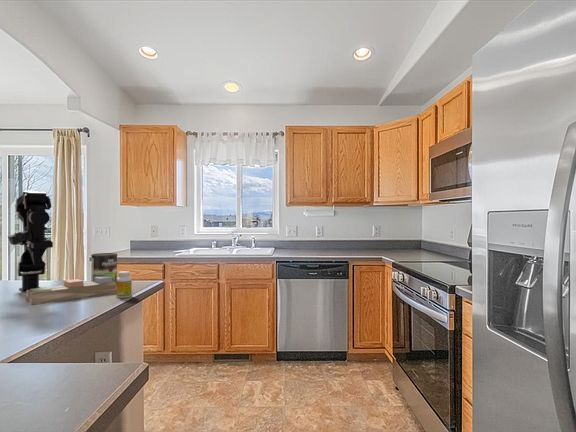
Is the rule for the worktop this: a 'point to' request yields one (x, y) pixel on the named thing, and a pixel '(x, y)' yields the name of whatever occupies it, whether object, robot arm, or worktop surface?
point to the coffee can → (104, 265)
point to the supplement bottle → (123, 285)
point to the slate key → (102, 279)
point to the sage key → (40, 289)
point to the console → (69, 292)
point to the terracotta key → (73, 283)
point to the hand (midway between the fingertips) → (35, 265)
